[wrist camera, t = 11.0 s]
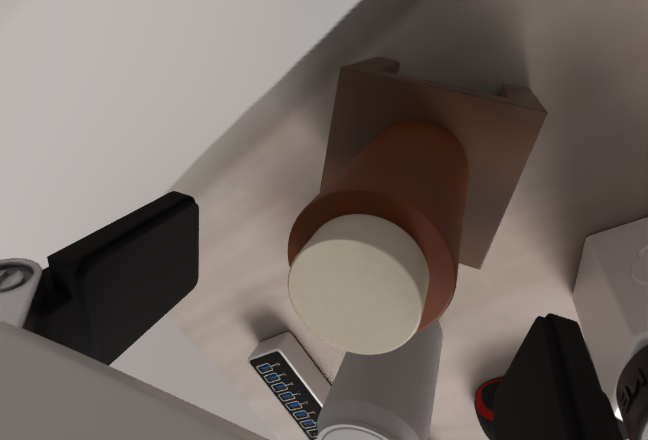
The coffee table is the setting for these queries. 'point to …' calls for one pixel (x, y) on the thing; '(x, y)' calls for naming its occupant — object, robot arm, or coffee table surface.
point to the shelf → (453, 116)
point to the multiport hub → (292, 380)
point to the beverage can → (384, 392)
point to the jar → (618, 318)
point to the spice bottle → (382, 241)
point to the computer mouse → (486, 407)
